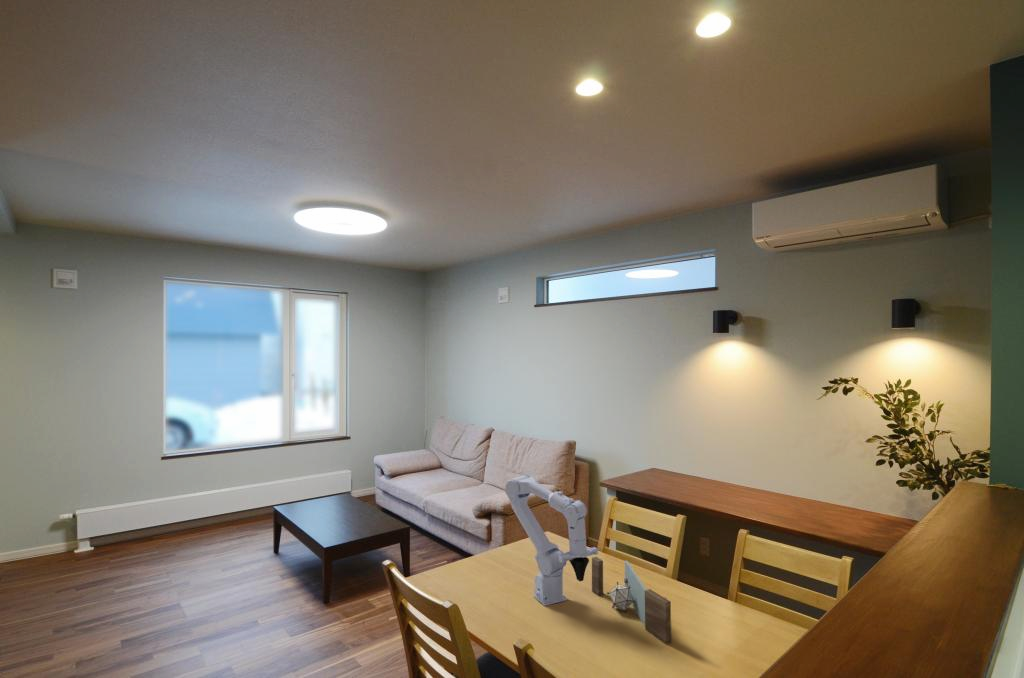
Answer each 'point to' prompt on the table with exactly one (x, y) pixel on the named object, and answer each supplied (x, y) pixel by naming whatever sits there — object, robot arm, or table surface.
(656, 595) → the wall frame
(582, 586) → the table surface
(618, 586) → the game die
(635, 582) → the door
